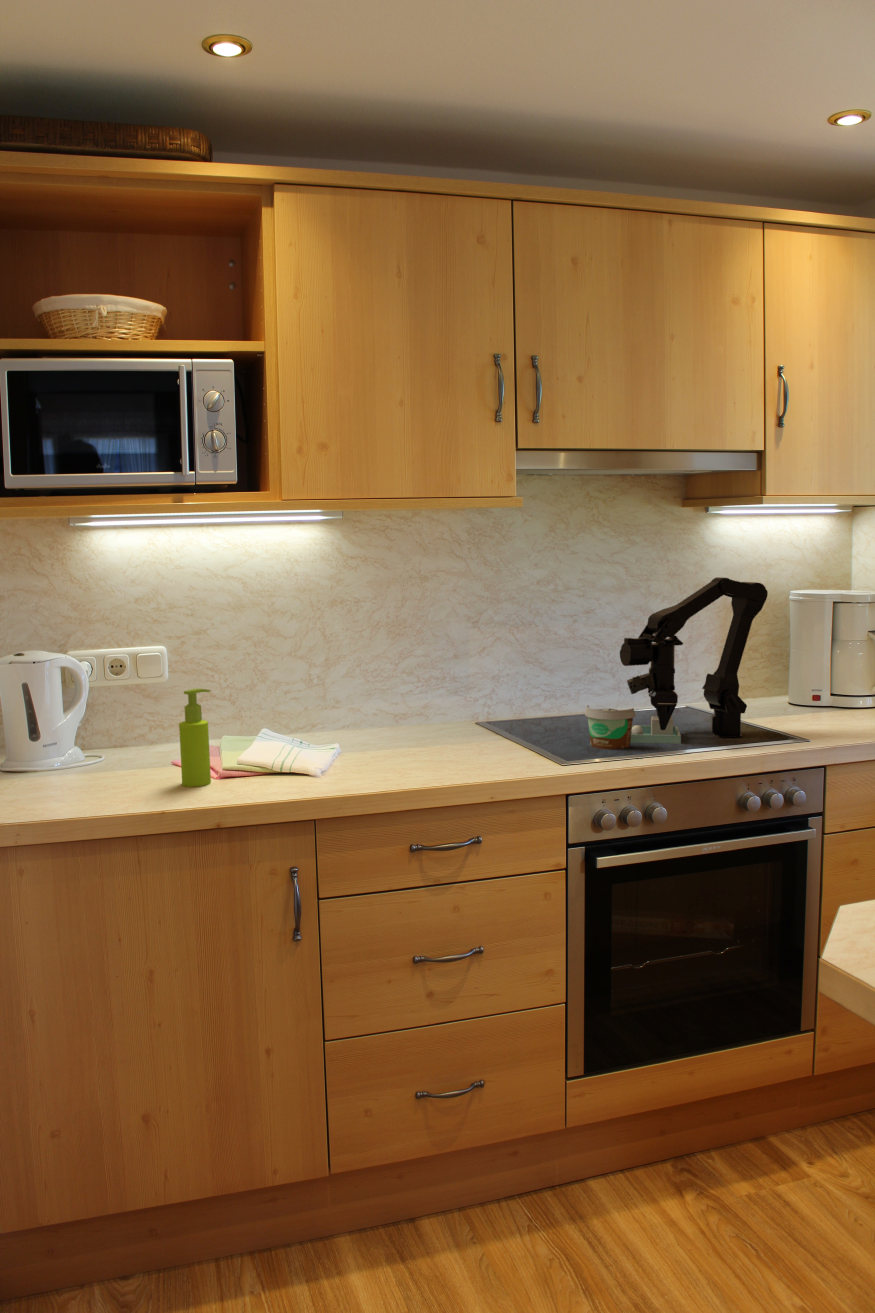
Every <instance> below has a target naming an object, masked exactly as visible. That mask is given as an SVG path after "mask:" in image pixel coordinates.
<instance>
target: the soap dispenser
mask: <svg viewBox="0 0 875 1313" xmlns="http://www.w3.org/2000/svg"><path fill="white" fill-rule="evenodd" d="M210 692H211V689H206V688H191V689H188V690H183V694H184V695H187V697H188V698H187V700H188V701H187V702H188V703H187V704H186V705H185V706H184V721H183V720H182V721H181V722H179V723H178V726H179V731H178V732H179V746H180V748H179V749H180V764H181V765H180V766H181V769H180V770H181V785H182V786H183V787H186V788H188V787H189V788H193V787H195V788H196V787H197V788H198V787H204V786H207V785H211V784H212V779H211V777H212V776H211V757H210V756H211V755H210V738H209V737H210V736H209V735H210V734H209V721H208V720H205V719H202V717H203V716H202V705H201V704H199V703H197V702H198V700H197V694H200V693H210Z"/></svg>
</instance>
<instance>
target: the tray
mask: <svg viewBox="0 0 875 1313" xmlns="http://www.w3.org/2000/svg"><path fill="white" fill-rule="evenodd" d="M633 726H634V725H632V727H633ZM640 726H641V727H642V729H643V735H634V734H632V732H631V740H630V744H667V745H668V744H671V745H673V744H674V745H675V744H676V745H677V744H679V745H681V744H682V735H681V732H680V730H679V727H678V725H673V735H651V725H640Z"/></svg>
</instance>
